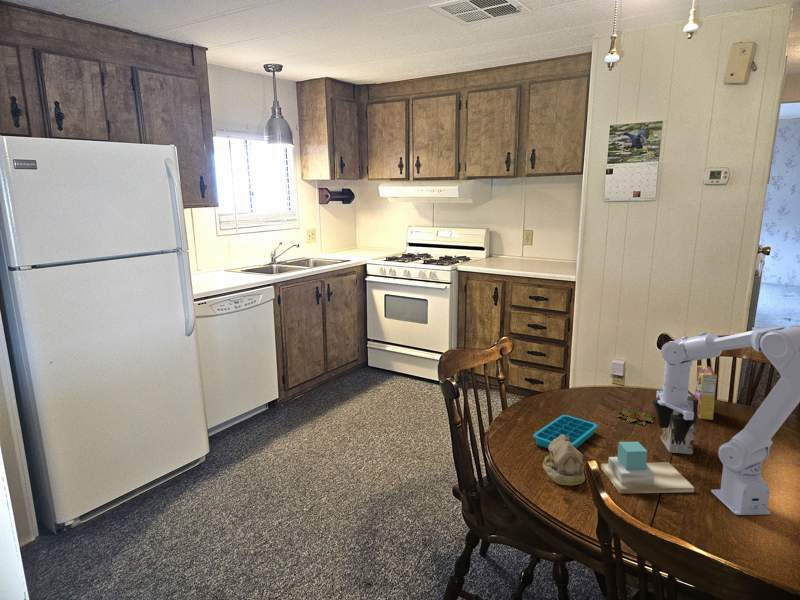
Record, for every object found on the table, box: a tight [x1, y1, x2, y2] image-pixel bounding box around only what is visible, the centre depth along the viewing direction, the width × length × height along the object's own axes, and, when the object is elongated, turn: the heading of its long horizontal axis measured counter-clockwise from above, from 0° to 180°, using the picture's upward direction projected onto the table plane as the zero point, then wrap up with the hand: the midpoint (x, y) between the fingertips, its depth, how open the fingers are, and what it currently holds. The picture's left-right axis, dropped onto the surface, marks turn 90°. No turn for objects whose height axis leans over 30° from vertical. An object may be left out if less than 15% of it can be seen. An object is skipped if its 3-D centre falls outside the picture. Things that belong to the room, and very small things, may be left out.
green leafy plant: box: [617, 404, 654, 427], centre depth 164 cm, size 12×12×5 cm
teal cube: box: [617, 441, 648, 470], centre depth 127 cm, size 5×5×5 cm
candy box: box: [694, 365, 718, 421], centre depth 164 cm, size 9×4×15 cm, turn 160°
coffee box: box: [659, 389, 699, 455], centre depth 144 cm, size 9×6×16 cm
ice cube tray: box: [532, 414, 599, 449], centre depth 151 cm, size 12×20×3 cm, turn 136°
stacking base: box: [600, 456, 695, 494], centre depth 128 cm, size 12×18×4 cm, turn 90°
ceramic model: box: [542, 434, 586, 486], centre depth 132 cm, size 14×11×10 cm
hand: (671, 433), depth 133 cm, fingers open, 7 cm apart
